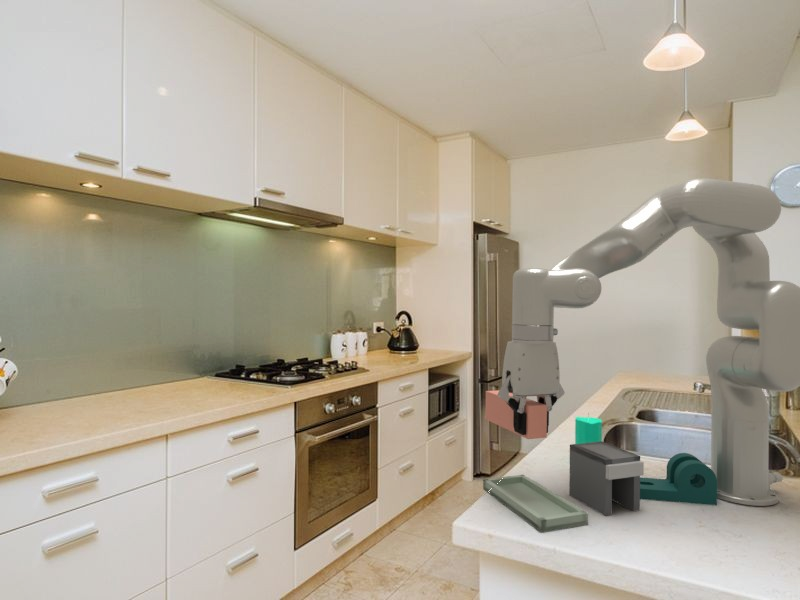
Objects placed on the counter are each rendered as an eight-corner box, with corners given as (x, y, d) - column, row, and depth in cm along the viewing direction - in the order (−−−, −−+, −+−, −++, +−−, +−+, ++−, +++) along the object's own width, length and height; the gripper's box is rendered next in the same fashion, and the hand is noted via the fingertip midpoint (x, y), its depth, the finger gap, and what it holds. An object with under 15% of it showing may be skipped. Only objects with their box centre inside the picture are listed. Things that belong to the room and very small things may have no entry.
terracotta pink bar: (501, 418, 108) (502, 389, 108) (546, 437, 92) (547, 404, 92) (485, 419, 106) (485, 390, 106) (527, 439, 91) (528, 406, 91)
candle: (571, 464, 118) (572, 413, 118) (578, 457, 123) (578, 409, 123) (598, 469, 114) (598, 417, 114) (604, 462, 119) (604, 412, 119)
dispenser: (643, 512, 91) (643, 457, 91) (608, 517, 89) (609, 461, 89) (601, 490, 101) (601, 441, 101) (569, 495, 99) (569, 444, 99)
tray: (523, 484, 105) (523, 474, 105) (588, 524, 86) (588, 513, 86) (483, 489, 102) (483, 479, 102) (541, 532, 83) (541, 520, 83)
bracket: (702, 493, 101) (702, 454, 101) (716, 506, 95) (717, 464, 95) (608, 485, 105) (608, 448, 105) (615, 498, 98) (616, 458, 98)
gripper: (557, 333, 100) (556, 424, 100) (483, 333, 95) (481, 430, 95) (582, 335, 93) (581, 434, 93) (503, 336, 88) (502, 441, 87)
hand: (531, 431), depth 94 cm, fingers closed on terracotta pink bar, 4 cm apart
